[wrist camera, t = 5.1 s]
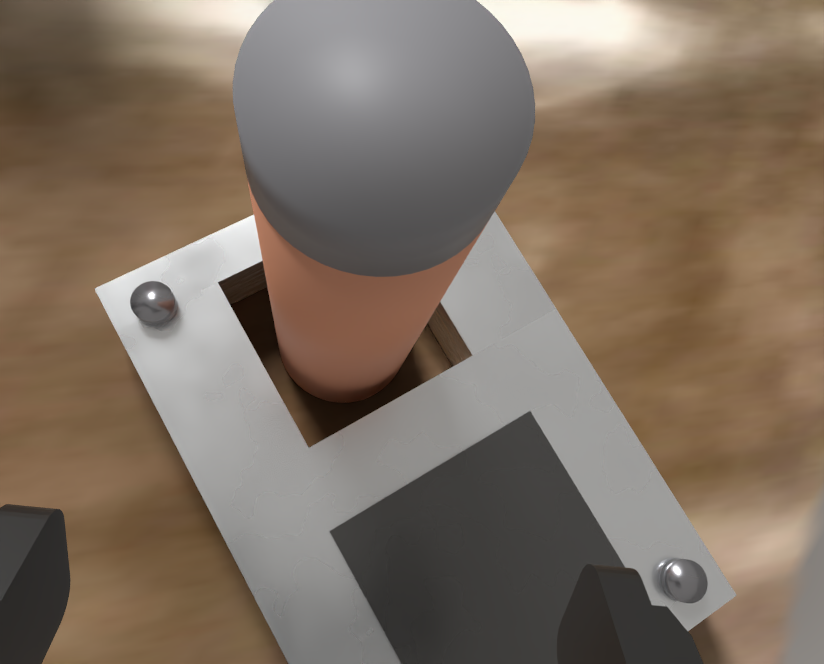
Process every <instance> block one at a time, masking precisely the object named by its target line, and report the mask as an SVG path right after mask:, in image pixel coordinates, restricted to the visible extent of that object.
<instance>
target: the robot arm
mask: <svg viewBox="0 0 824 664" xmlns="http://www.w3.org/2000/svg"><path fill="white" fill-rule="evenodd" d="M69 591H70V571H69V561H68V551H67V541H66V531H65V522H64V515H63V513H62V511H61V510H60V509H51V508H41V507H31V506H21V505H10V504H6V505H4V506H2V507H1V508H0V664H42V662H43V660H44V657H45V655H46V653H47V651H48V649H49V647H50V645H51V642H52V640H53V638H54V636H55V634H56V632H57V630H58V627H59V625H60V623H61V621H62V618H63V615H64V612H65V609H66V606H67V602H68V597H69ZM557 661H558V664H703V662H702V659H701V657H700V655H699V652H698V650H697V648H696V645H695V643H694V640H693V638H692V636H691V635H690V634H689V632H688V631H687V630H686V629H685V628H684V626H683V625H682V624H681V623H680V621H679V620H678V619H677V618H676V617H675V615H674V614H673V613H672V612H671V611H670V609H669V608H668V607H667V606H656V605H652V604H651V601H650V599H649V596H648V594H647V591H646V588H645V586H644V583H643V581H642V578H641V576H640V574H639V573H638V572H637V571H636V570H635V569H633V568H625V567H615V566H605V565H595V564H587V565H586V566H584V568H583V569H582V571H581V574H580V576H579V579H578V581H577V584H576V586H575V588H574V591H573V593H572V596H571V598H570V601H569V603H568V605H567V608H566V610H565V613H564V615H563V618H562V620H561V623H560V626H559V629H558V635H557Z"/></svg>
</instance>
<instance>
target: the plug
mask: <svg viewBox="0 0 824 664" xmlns="http://www.w3.org/2000/svg"><path fill="white" fill-rule="evenodd" d="M233 103H234V109H235V115H236V121H237V126H238V132H239V137H240V142H241V148H242V153H243V158H244V164H245V169H246V174H247V180H248V185H249V190H250V196H251V201H252V207H253V212H254V217H255V223H256V228H257V233H258V239H259V244H260V249H261V255H262V260H263V265H264V271H265V276H266V281H267V287H268V292H269V298H270V303H271V308H272V314H273V319H274V324H275V330H276V335H277V340H278V346H279V351H280V356H281V359H282V362H283V364H284V366H285V369H286V370H287V372H288V374H289V375H290V377H291V378H292V379H293V380H294V381H295V383H296V384H297V385H299V386H300V387H301V388H302V389H303V390H305V391H306V392H308V393H309V394H311V395H313V396H315V397H317V398H320V399H323V400H326V401H330V402H338V403H348V402H355V401H360V400H363V399H366V398H368V397H371V396H373V395H375V394H376V393H378V392H379V391H381V390H382V389H383V388H385V387H386V386H387V385H388V384H389V383H390V382H391V381H392V379H393V378H394V377H395V375H396V374H397V372H398V371H399V369H400V367H401V366H402V364H403V362H404V361H405V359H406V357H407V356H408V354H409V352H410V351H411V349H412V347H413V346H414V344H415V343H416V341H417V339H418V338H419V336H420V334H421V333H422V331H423V329H424V328H425V326H426V324H427V323H428V321H429V319H430V318H431V316H432V314H433V313H434V311H435V309H436V308H437V306H438V304H439V303H440V301H441V299H442V298H443V296H444V294H445V293H446V291H447V289H448V288H449V286H450V284H451V283H452V281H453V279H454V278H455V276H456V274H457V273H458V271H459V269H460V268H461V266H462V265H463V263H464V261H465V260H466V258H467V256H468V255H469V253H470V251H471V250H472V248H473V246H474V245H475V243H476V241H477V240H478V238H479V236H480V235H481V233H482V231H483V230H484V228H485V226H486V225H487V223H488V221H489V220H490V218H491V216H492V215H493V213H494V211H495V210H496V208H497V206H498V205H499V203H500V201H501V200H502V198H503V196H504V195H505V193H506V191H507V190H508V188H509V187H510V185H511V183H512V182H513V180H514V178H515V177H516V175H517V173H518V172H519V170H520V168H521V166H522V164H523V162H524V160H525V158H526V156H527V153H528V150H529V146H530V143H531V140H532V136H533V129H534V123H535V100H534V92H533V86H532V82H531V79H530V75H529V71H528V69H527V66H526V64H525V61H524V59H523V57H522V54H521V53H520V51H519V49H518V47H517V46H516V44H515V42H514V40H513V39H512V37H511V36H510V35H509V33H508V32H507V31H506V29H505V28H504V27H503V25H502V24H501V23H500V22H499V21H498V20H497V19H496V18H495V17H494V16H493V15H492V14H491V13H490V12H489V11H488V10H487V9H486V8H485V7H483V6H482V5H481V4H480V3H479V2H477V1H476V0H274V1H273V2H272V3H271V4H270V5H269V6H268V7H267V8H266V9H265V10H264V11H263V12H262V13H261V14H260V16H259V17H258V18H257V19H256V21H255V22H254V24H253V25H252V27H251V28H250V30H249V31H248V33H247V35H246V37H245V39H244V41H243V44H242V46H241V48H240V51H239V54H238V58H237V61H236V64H235V71H234V78H233Z"/></svg>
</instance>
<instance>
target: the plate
mask: <svg viewBox="0 0 824 664" xmlns="http://www.w3.org/2000/svg"><path fill="white" fill-rule="evenodd" d="M266 287H267V281H266V276H265V271H264V265H263V260H262V255H261V249H260V244H259V239H258V233H257V228H256V223H255V217H254V215H252V216H250V217H248V218H246V219H243V220H241V221H239V222H237V223H235V224H233V225H231V226H228V227H226V228H224V229H222V230H220V231H218V232H215V233H213V234H211V235H209V236H207V237H205V238H203V239H200V240H198V241H196V242H194V243H192V244H190V245H187V246H185V247H183V248H181V249H179V250H177V251H175V252H172V253H170V254H168V255H166V256H164V257H162V258H159V259H157V260H155V261H153V262H151V263H149V264H147V265H144V266H142V267H140V268H138V269H136V270H134V271H131V272H129V273H127V274H125V275H123V276H121V277H119V278H116V279H114V280H112V281H110V282H108V283H106V284H103V285H101V286H99V287H97V288H95V291H96V292H97V294H98V296H99V298H100V300H101V302H102V304H103V306H104V308H105V310H106V312H107V314H108V316H109V318H110V320H111V321H112V323H113V325H114V327H115V329H116V331H117V333H118V335H119V337H120V339H121V341H122V343H123V345H124V347H125V349H126V350H127V352H128V354H129V356H130V358H131V360H132V362H133V364H134V366H135V368H136V370H137V372H138V374H139V376H140V377H141V379H142V381H143V383H144V385H145V387H146V389H147V391H148V393H149V395H150V397H151V399H152V401H153V403H154V405H155V406H156V408H157V410H158V412H159V414H160V416H161V418H162V420H163V422H164V424H165V426H166V428H167V430H168V432H169V434H170V435H171V437H172V439H173V441H174V443H175V445H176V447H177V449H178V451H179V453H180V455H181V457H182V459H183V461H184V463H185V464H186V466H187V468H188V470H189V472H190V474H191V476H192V478H193V480H194V482H195V484H196V486H197V488H198V490H199V492H200V493H201V495H202V497H203V499H204V501H205V503H206V505H207V507H208V509H209V511H210V513H211V515H212V517H213V519H214V521H215V522H216V524H217V526H218V528H219V530H220V532H221V534H222V536H223V538H224V540H225V542H226V544H227V546H228V548H229V550H230V551H231V553H232V555H233V557H234V559H235V561H236V563H237V565H238V567H239V569H240V571H241V573H242V575H243V577H244V579H245V580H246V582H247V584H248V586H249V588H250V590H251V592H252V594H253V596H254V598H255V600H256V602H257V604H258V606H259V608H260V609H261V611H262V613H263V615H264V617H265V619H266V621H267V623H268V625H269V627H270V629H271V631H272V633H273V635H274V636H275V638H276V640H277V642H278V644H279V646H280V648H281V650H282V652H283V654H284V656H285V658H286V660H287V662H288V664H558V661H557V635H558V629H559V626H560V623H561V620H562V618H563V615H564V613H565V610H566V608H567V605H568V603H569V601H570V598H571V596H572V593H573V591H574V588H575V586H576V584H577V581H578V579H579V576H580V574H581V571H582V569H583V568H584V566H586V565H587V564H595V565H605V566H615V567H625V568H633V569H635V570H636V571H637V572H638V573H639V574H640V576H641V578H642V581H643V583H644V586H645V588H646V591H647V594H648V596H649V599H650V601H651V604H652V605H656V606H667V607H668V608H669V609H670V611H671V612H672V613H673V614H674V615H675V617H676V618H677V619H678V620H679V621H680V623H681V624H682V625H683V626H684V628H685V629H686V630H687V631H689V630H690V629H692V628H693V627H694V626H696V625H697V624H699V623H700V622H701V621H703V620H704V619H705V618H707V617H708V616H709V615H711V614H712V613H713V612H715V611H716V610H717V609H719V608H720V607H721V606H723V605H724V604H726V603H727V602H728V601H730V600H731V599H732V598H734V597H735V596H736V594H735V592H734V591H733V589H732V587H731V586H730V584H729V583H728V581H727V579H726V578H725V576H724V575H723V573H722V572H721V570H720V568H719V567H718V565H717V564H716V562H715V560H714V559H713V557H712V556H711V554H710V552H709V551H708V549H707V548H706V546H705V545H704V543H703V541H702V540H701V538H700V537H699V535H698V533H697V532H696V530H695V529H694V527H693V525H692V524H691V522H690V521H689V519H688V517H687V516H686V514H685V513H684V511H683V510H682V508H681V506H680V505H679V503H678V502H677V500H676V498H675V497H674V495H673V494H672V492H671V490H670V489H669V487H668V486H667V484H666V483H665V481H664V479H663V478H662V476H661V475H660V473H659V471H658V470H657V468H656V467H655V465H654V463H653V462H652V460H651V459H650V457H649V456H648V454H647V452H646V451H645V449H644V448H643V446H642V444H641V443H640V441H639V440H638V438H637V436H636V435H635V433H634V432H633V430H632V429H631V427H630V425H629V424H628V422H627V421H626V419H625V417H624V416H623V414H622V413H621V411H620V409H619V408H618V406H617V405H616V403H615V402H614V400H613V398H612V397H611V395H610V394H609V392H608V390H607V389H606V387H605V386H604V384H603V382H602V381H601V379H600V378H599V376H598V375H597V373H596V371H595V370H594V368H593V367H592V365H591V363H590V362H589V360H588V359H587V357H586V355H585V354H584V352H583V351H582V349H581V347H580V346H579V344H578V343H577V341H576V340H575V338H574V336H573V335H572V333H571V332H570V330H569V328H568V327H567V325H566V324H565V322H564V320H563V319H562V317H561V316H560V314H559V313H558V311H557V309H556V308H555V306H554V305H553V303H552V301H551V300H550V298H549V297H548V295H547V293H546V292H545V290H544V289H543V287H542V286H541V284H540V282H539V281H538V279H537V278H536V276H535V274H534V273H533V271H532V270H531V268H530V266H529V265H528V263H527V262H526V260H525V259H524V257H523V255H522V254H521V252H520V251H519V249H518V247H517V246H516V244H515V243H514V241H513V239H512V238H511V236H510V235H509V233H508V232H507V230H506V228H505V227H504V225H503V224H502V222H501V220H500V219H499V217H498V216H497V214H496V212H495V211H494V213H493V215H492V216H491V218H490V220H489V221H488V223H487V225H486V226H485V228H484V230H483V231H482V233H481V235H480V236H479V238H478V240H477V241H476V243H475V245H474V246H473V248H472V250H471V251H470V253H469V255H468V256H467V258H466V260H465V261H464V263H463V265H462V266H461V268H460V269H459V271H458V273H457V274H456V276H455V278H454V279H453V281H452V283H451V284H450V286H449V288H448V289H447V291H446V293H445V294H444V296H443V298H442V299H441V301H440V303H439V304H438V306H437V308H436V309H435V311H434V313H433V314H432V316H431V318H430V319H429V321H428V323H427V324H428V325H429V327H430V329H431V330H432V332H433V334H434V335H435V337H436V339H437V340H438V342H439V344H440V345H441V347H442V349H443V351H444V352H445V354H446V356H447V357H448V359H449V361H450V362H451V364H452V366H453V367H452V368H450V369H448V370H446V371H444V372H443V373H441V374H439V375H437V376H436V377H434V378H432V379H430V380H429V381H427V382H425V383H423V384H421V385H420V386H418V387H416V388H414V389H413V390H411V391H409V392H407V393H405V394H404V395H402V396H400V397H398V398H397V399H395V400H393V401H391V402H389V403H388V404H386V405H384V406H382V407H381V408H379V409H377V410H375V411H373V412H372V413H370V414H368V415H366V416H365V417H363V418H361V419H359V420H358V421H356V422H354V423H352V424H350V425H349V426H347V427H345V428H343V429H342V430H340V431H338V432H336V433H334V434H333V435H331V436H329V437H327V438H326V439H324V440H322V441H320V442H318V443H317V444H315V445H313V446H311V447H310V448H308V446H307V444H306V442H305V440H304V439H303V437H302V435H301V433H300V431H299V429H298V428H297V426H296V424H295V422H294V420H293V419H292V417H291V415H290V413H289V411H288V409H287V408H286V406H285V404H284V402H283V400H282V399H281V397H280V395H279V393H278V391H277V389H276V388H275V386H274V384H273V382H272V380H271V378H270V377H269V375H268V373H267V371H266V369H265V368H264V366H263V364H262V362H261V360H260V358H259V357H258V355H257V353H256V351H255V349H254V347H253V346H252V344H251V342H250V340H249V338H248V337H247V335H246V333H245V331H244V329H243V327H242V326H241V324H240V322H239V320H238V318H237V317H236V315H235V313H234V311H233V309H232V307H231V306H230V305H232V304H234V303H236V302H238V301H240V300H242V299H244V298H246V297H248V296H250V295H252V294H254V293H256V292H258V291H260V290H262V289H264V288H266Z"/></svg>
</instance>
